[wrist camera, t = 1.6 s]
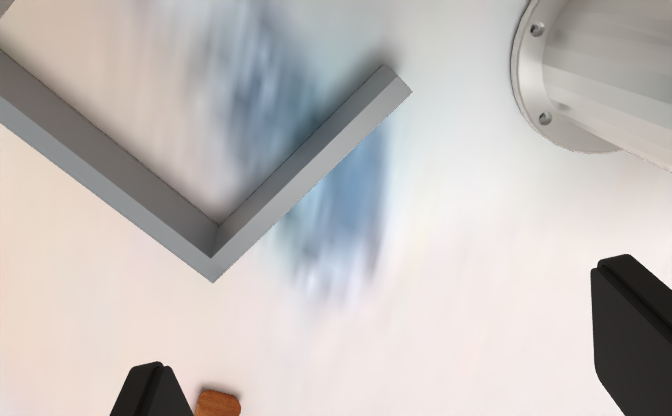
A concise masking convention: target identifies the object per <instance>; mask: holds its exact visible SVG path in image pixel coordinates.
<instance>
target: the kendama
mask: <svg viewBox="0 0 672 416" xmlns="http://www.w3.org/2000/svg"><path fill="white" fill-rule="evenodd" d="M240 413H241V406H240V403H239V401H238V400H237V399H236V398H235V397H234V396H233V395H230V394H226V393H222V392H218V391H214V390H207V391H205V392H203V393H202V394H201V395H200V396H199V398H198V403H197V407H196V411H195V415H194V416H239V414H240Z"/></svg>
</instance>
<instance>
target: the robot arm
mask: <svg viewBox="0 0 672 416" xmlns="http://www.w3.org/2000/svg"><path fill="white" fill-rule="evenodd" d="M533 24H534V26H535V29H534V31H533V32H530V29H531V26H532V25H533ZM511 81H512V85H513V90H514V95H515V99H516V101H517V103H518V105H519V108H520V110H521V112H522V114H523V115H524V117H525V118H526V120H527V121H528V122H529V124H530V125H531V126H532V127H533V128H534V129H535V130H536V131H537V132H538V133H540V134H541V135H542V136H543V137H544V138H546V139H548V140H549V141H551V142H553V143H554V144H556V145H558V146H560V147H563V148H565V149H568V150H570V151H574V152H580V153H586V154H602V153H611V152H616V151H621V150H626V151H628V152H630V153H632V154H634V155H636V156H638V157H640V158H642V159H644V160H646V161H648V162H650V163H652V164H654V165H656V166H658V167H660V168H663V169H665V170H667V171H669V172H671V173H672V0H531V2H530V4H529V6H528V8H527V10H526V12H525V13H524V15H523V17H522V19H521V22H520V25H519V28H518V30H517V33H516V36H515V39H514V45H513V51H512V57H511ZM542 113H543V115H542V117H541V118H540V119H539V117H540V115H541V114H542ZM591 297H592V320H593V342H594V364H595V370H596V373H597V376H598V378H599V380H600V382H601V383H602V385H603V386H604V387H605V389H606V390H607V392H608V393H609V394H610V396H611V397H612V398H613V400H614V401H615V403H616V404H617V405H618V407H619V408H620V409H621V411H622V412H623V414H624V415H625V416H672V290H671V289H670V288H669V287H667V286H666V285H665V284H664V283H663V282H662V281H660V280H659V279H658V278H657V277H656V276H655V275H653V274H652V273H651V272H650V271H649V270H648V269H646V268H645V267H644V266H643V265H642V264H641V263H639V262H638V261H637V260H636V259H635V258H634V257H632V256H631V255H629V254H624V255H619V256H615V257H610V258H606V259H602V260H600V261H599V262H598V264H597V268H593V269H592V270H591ZM110 416H194V415H193V413H192V411H191V409H190V407H189V404H188V402H187V400H186V398H185V396H184V394H183V392H182V389H181V387H180V385H179V383H178V381H177V379H176V377H175V374H174V372H173V370H172V369H171V367H170V366H163V364H162V363H161V362H158V361H156V362H152V363H148V364H143V365H139V366H134V367H133V368H131V370H130V371H129V374H128V376H127V378H126V380H125V382H124V385H123V387H122V389H121V391H120V394H119V396H118V398H117V400H116V402H115V405H114V407H113V409H112V411H111V414H110Z"/></svg>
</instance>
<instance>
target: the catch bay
mask: <svg viewBox="0 0 672 416" xmlns="http://www.w3.org/2000/svg"><path fill="white" fill-rule="evenodd" d="M13 1H14V0H0V18H1V17H2V15H3V14H4V13H5V11H6V10H7V9H8V8H9V6H10V5H11V4H12V2H13ZM412 92H413V91H412V90H411V89H410V88H409V87H408V86H407V85H406V84H405V83H404V82H403V80H402V79H401V78H400V77H399V76H398V75H397V74H395V73H394V72H393V71H392V70H391V69H389V68H388V67H387V66H386V65H384V64H383V65H382V66H381V67H380V68H379V69H378V70H377V71H376V72H375V73H374V74H373V75H372V76H371V77H370V78H369V79H368V80H367V81H366V82H365V83H364V84H363V85H362V86H361V87H360V88H359V89H358V90H357V91H356V92H355V93H354V94H353V95H352V96H351V97H350V98H349V99H348V100H347V101H345V102H344V103H343V104H342V105H341V106H340V107H339V108H338V109H337V110H336V111H335V112H334V113H333V114H332V115H331V116H330V117H329V118H328V119H327V120H326V121H325V122H324V123H323V124H322V125H321V126H320V127H319V128H318V129H317V130H316V131H315V132H314V133H313V134H312V135H311V136H310V137H309V138H308V139H307V140H306V141H305V142H304V143H303V144H302V145H301V146H300V147H299V148H298V149H297V150H296V151H295V152H294V153H293V154H292V155H291V156H290V157H289V158H288V159H287V160H286V161H285V162H284V163H283V164H282V165H281V166H280V167H279V168H278V169H277V170H276V171H275V172H274V173H273V174H272V175H271V176H270V177H269V178H268V179H267V180H266V181H265V182H264V183H263V184H262V185H261V186H260V187H259V188H258V189H257V190H256V191H255V192H254V193H253V194H252V195H251V196H250V197H249V198H248V199H247V200H246V201H245V202H244V203H243V204H241V205H240V206H239V207H238V208H237V209H236V210H235V211H234V212H233V213H232V214H231V215H230V216H229V217H228V218H227V219H226V220H225V221H224V222H223V223H222V224H221V225H220V226H218V225H217V224H216V223H214V222H213V221H212V220H211V219H209V218H208V217H207V216H206V215H205V214H203V213H202V212H201V211H200V210H198V209H197V208H196V207H195V206H193V205H192V204H191V203H190V202H188V201H187V200H186V199H185V198H183V197H182V196H181V195H180V194H178V193H177V192H176V191H175V190H174V189H172V188H171V187H170V186H169V185H167V184H166V183H165V182H164V181H162V180H161V179H160V178H159V177H157V176H156V175H155V174H154V173H152V172H151V171H150V170H149V169H148V168H146V167H145V166H144V165H143V164H141V163H140V162H139V161H138V160H136V159H135V158H134V157H133V156H131V155H130V154H129V153H128V152H126V151H125V150H124V149H123V148H122V147H120V146H119V145H118V144H117V143H115V142H114V141H113V140H112V139H110V138H109V137H108V136H107V135H105V134H104V133H103V132H102V131H100V130H99V129H98V128H97V127H95V126H94V125H93V124H92V123H91V122H89V121H88V120H87V119H86V118H84V117H83V116H82V115H81V114H79V113H78V112H77V111H76V110H74V109H73V108H72V107H71V106H69V105H68V104H67V103H66V102H65V101H63V100H62V99H61V98H60V97H58V96H57V95H56V94H55V93H53V92H52V91H51V90H50V89H48V88H47V87H46V86H45V85H43V84H42V83H41V82H40V81H39V80H37V79H36V78H35V77H34V76H32V75H31V74H30V73H29V72H27V71H26V70H25V69H24V68H22V67H21V66H20V65H19V64H17V63H16V62H15V61H14V60H12V59H11V58H10V57H9V56H8V55H6V54H5V53H4V52H3V51H1V50H0V123H1V124H2V125H4V126H5V127H6V128H8V129H9V130H10V131H12V132H13V133H14V134H16V135H17V136H18V137H20V138H21V139H22V140H24V141H25V142H26V143H28V144H29V145H30V146H32V147H33V148H34V149H36V150H37V151H38V152H40V153H41V154H42V155H44V156H45V157H46V158H47V159H49V160H50V161H51V162H53V163H54V164H55V165H57V166H58V167H59V168H61V169H62V170H63V171H65V172H66V173H67V174H69V175H70V176H71V177H73V178H74V179H75V180H77V181H78V182H79V183H81V184H82V185H83V186H85V187H86V188H87V189H89V190H90V191H91V192H93V193H94V194H95V195H96V196H98V197H99V198H100V199H102V200H103V201H104V202H106V203H107V204H108V205H110V206H111V207H112V208H114V209H115V210H116V211H118V212H119V213H120V214H122V215H123V216H124V217H126V218H127V219H128V220H130V221H131V222H132V223H134V224H135V225H136V226H138V227H139V228H140V229H141V230H143V231H144V232H145V233H147V234H148V235H149V236H151V237H152V238H153V239H155V240H156V241H157V242H159V243H160V244H161V245H163V246H164V247H165V248H167V249H168V250H169V251H171V252H172V253H173V254H175V255H176V256H177V257H179V258H180V259H181V260H183V261H184V262H185V263H186V264H188V265H189V266H190V267H192V268H193V269H194V270H196V271H197V272H198V273H200V274H201V275H202V276H204V277H205V278H206V279H208V280H209V281H210V282H212V283H214V282H215V281H216V280H217V279H218V278H219V277H220V276H221V275H222V274H223V273H225V272H226V271H227V270H228V269H229V268H230V267H231V266H232V265H233V264H234V263H235V262H236V261H237V260H238V259H239V258H240V257H241V256H242V255H243V254H244V253H245V252H246V251H247V250H249V249H250V248H251V247H252V246H253V245H254V244H255V243H256V242H257V241H258V240H259V239H260V238H261V237H262V236H263V235H264V234H265V233H266V232H267V231H268V230H269V229H270V228H271V227H272V226H274V225H275V224H276V223H277V222H278V221H279V220H280V219H281V218H282V217H283V216H284V215H285V214H286V213H287V212H288V211H289V210H290V209H291V208H292V207H293V206H294V205H295V204H296V203H298V202H299V201H300V200H301V199H302V198H303V197H304V196H305V195H306V194H307V193H308V192H309V191H310V190H311V189H312V188H313V187H314V186H315V185H316V184H317V183H318V182H319V181H320V180H321V179H323V178H324V177H325V176H326V175H327V174H328V173H329V172H330V171H331V170H332V169H333V168H334V167H335V166H336V165H337V164H338V163H339V162H340V161H341V160H342V159H343V158H344V157H345V156H347V155H348V154H349V153H350V152H351V151H352V150H353V149H354V148H355V147H356V146H357V145H358V144H359V143H360V142H361V141H362V140H363V139H364V138H365V137H366V136H367V135H368V134H369V133H370V132H372V131H373V130H374V129H375V128H376V127H377V126H378V125H379V124H380V123H381V122H382V121H383V120H384V119H385V118H386V117H387V116H388V115H389V114H390V113H391V112H392V111H393V110H394V109H396V108H397V107H398V106H399V105H400V104H401V103H402V102H403V101H404V100H405V99H406V98H407V97H408V96H409V95H410V94H411V93H412Z"/></svg>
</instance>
